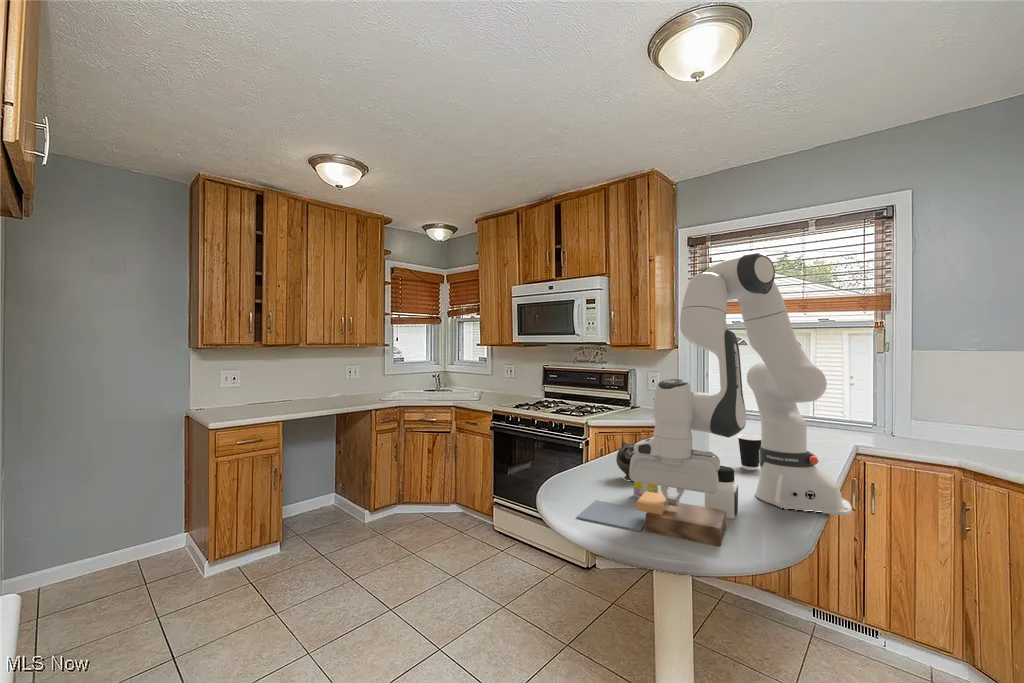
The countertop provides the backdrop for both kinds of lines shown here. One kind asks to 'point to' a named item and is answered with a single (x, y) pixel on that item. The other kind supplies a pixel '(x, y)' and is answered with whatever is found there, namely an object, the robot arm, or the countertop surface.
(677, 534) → the wooden block
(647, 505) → the tile
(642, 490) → the supplement bottle
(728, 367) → the robot arm
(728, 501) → the medicine bottle
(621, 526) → the mat
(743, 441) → the dixie cup
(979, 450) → the countertop surface
